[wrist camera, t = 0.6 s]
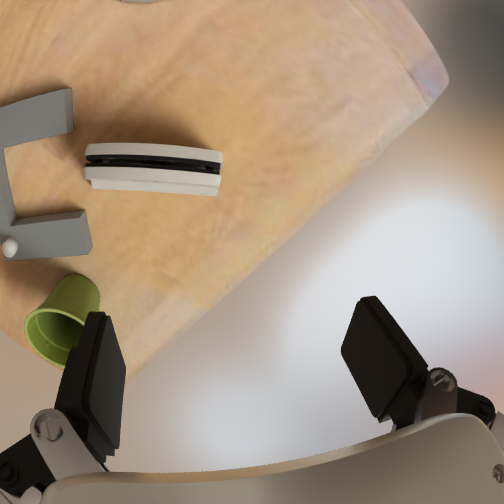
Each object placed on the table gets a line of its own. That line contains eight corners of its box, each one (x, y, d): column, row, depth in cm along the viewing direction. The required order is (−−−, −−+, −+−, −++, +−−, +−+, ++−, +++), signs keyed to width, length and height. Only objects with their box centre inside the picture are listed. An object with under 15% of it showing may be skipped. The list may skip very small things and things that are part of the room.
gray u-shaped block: (-16, 114, 25) (-33, 119, 21) (71, 88, 27) (58, 89, 24) (13, 252, 36) (2, 267, 32) (92, 245, 39) (84, 261, 35)
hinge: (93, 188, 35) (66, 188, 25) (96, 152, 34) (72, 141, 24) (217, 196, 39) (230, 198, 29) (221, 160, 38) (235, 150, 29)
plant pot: (127, 305, 45) (119, 359, 36) (76, 325, 45) (62, 376, 36) (86, 247, 39) (63, 297, 29) (35, 276, 39) (9, 323, 29)
